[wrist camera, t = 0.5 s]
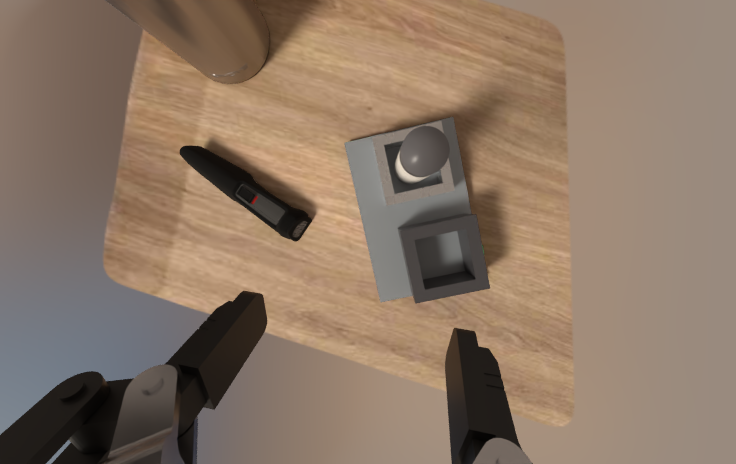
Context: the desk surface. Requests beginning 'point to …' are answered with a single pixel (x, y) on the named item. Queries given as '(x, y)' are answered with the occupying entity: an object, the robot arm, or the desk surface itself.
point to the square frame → (379, 146)
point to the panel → (406, 216)
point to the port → (451, 283)
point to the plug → (421, 154)
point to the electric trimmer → (247, 192)
